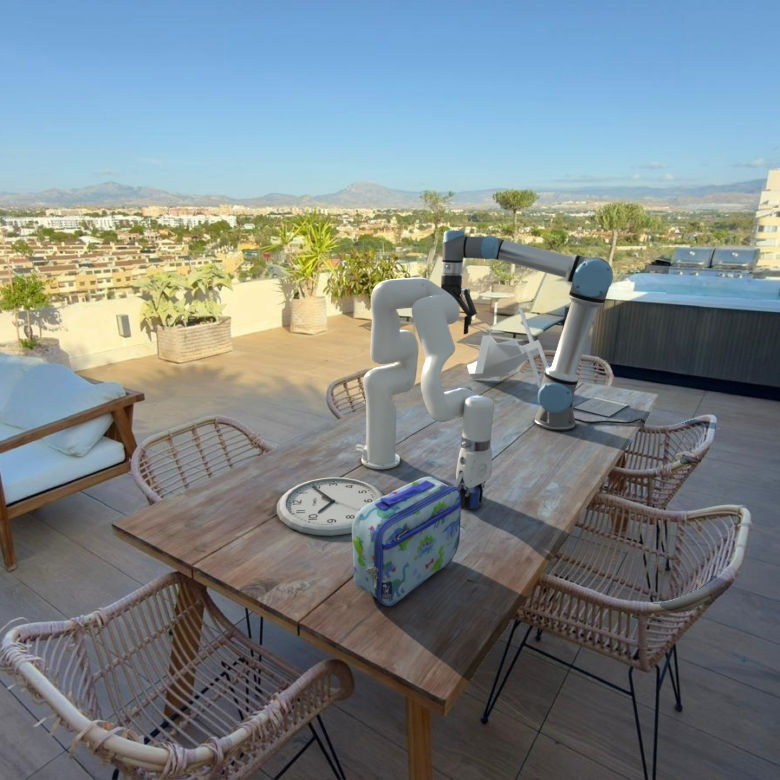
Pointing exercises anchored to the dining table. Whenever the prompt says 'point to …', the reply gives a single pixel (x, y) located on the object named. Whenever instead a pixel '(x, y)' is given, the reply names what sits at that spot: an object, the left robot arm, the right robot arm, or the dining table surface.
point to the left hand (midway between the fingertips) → (470, 503)
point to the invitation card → (601, 406)
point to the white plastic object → (506, 356)
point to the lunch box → (405, 538)
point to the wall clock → (325, 505)
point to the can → (474, 497)
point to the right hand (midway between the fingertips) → (448, 331)
